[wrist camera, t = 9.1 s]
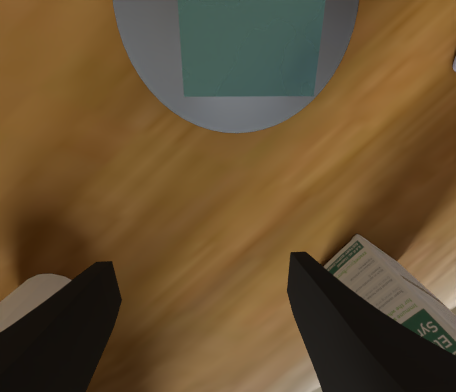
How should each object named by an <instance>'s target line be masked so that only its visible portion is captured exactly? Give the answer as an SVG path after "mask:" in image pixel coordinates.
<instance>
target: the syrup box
mask: <svg viewBox="0 0 456 392" xmlns="http://www.w3.org/2000/svg"><path fill="white" fill-rule="evenodd" d="M323 267H324V268H325V269H326V270H328V271H329V272H330V273H331V274H332V275H334V276H335V277H336V278H337V279H338V280H340V281H341V282H342V283H343V284H345V285H346V286H347V287H348V288H350V289H351V290H352V291H354V292H355V293H356V294H358V295H359V296H360V297H362V298H363V299H364V300H366V301H367V302H369V303H370V304H371V305H373V306H374V307H376V308H377V309H378V310H380V311H381V312H383V313H384V314H386V315H388V316H389V317H391V318H392V319H394V320H395V321H397V322H398V323H400V324H402V325H403V326H405V327H406V328H408V329H410V330H411V331H413V332H415V333H416V334H418V335H420V336H421V337H423V338H425V339H427V340H429V341H430V342H432V343H434V344H436V345H437V346H439V347H441V348H443V349H445V350H446V351H448V352H450V353H452V354H454V355H456V315H455V314H454V313H453V312H451V311H450V310H449V309H448V308H447V307H446V306H445V305H444V304H443V303H442V302H441V301H440V300H439V299H438V298H436V297H435V296H434V295H433V294H432V293H431V292H430V291H429V290H428V289H427V288H425V287H424V286H423V285H422V284H421V283H420V282H419V281H418V280H417V279H416V278H415V277H414V276H412V275H411V274H410V273H409V272H408V271H407V270H406V269H405V268H404V267H403V266H402V265H401V264H399V263H398V262H397V261H396V260H394V259H393V258H391V257H390V256H389V255H387V254H386V253H384V252H383V251H382V250H380V249H379V248H377V247H376V246H375V245H373V244H372V243H370V242H369V241H368V240H366V239H365V238H363V237H362V236H361V235H358V234H356V235H355V236H354V237H353V238H352V240H351V241H350V242H349V243H348V244H347V245H346V246H345V247H343V248H342V249H341V250H340V251H339V252H338V253H337V254H336V255H335V256H334V257H333V258H332V259H331V260H330V261H329V262H328V263H327V264H326V265H324V266H323Z"/></svg>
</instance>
